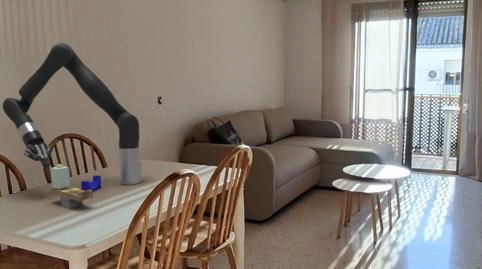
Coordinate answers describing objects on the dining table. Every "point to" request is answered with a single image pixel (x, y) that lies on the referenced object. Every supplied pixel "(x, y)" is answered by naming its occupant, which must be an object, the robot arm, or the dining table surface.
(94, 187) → the cable clip
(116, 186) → the dining table surface
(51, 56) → the robot arm
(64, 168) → the block
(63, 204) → the beam
